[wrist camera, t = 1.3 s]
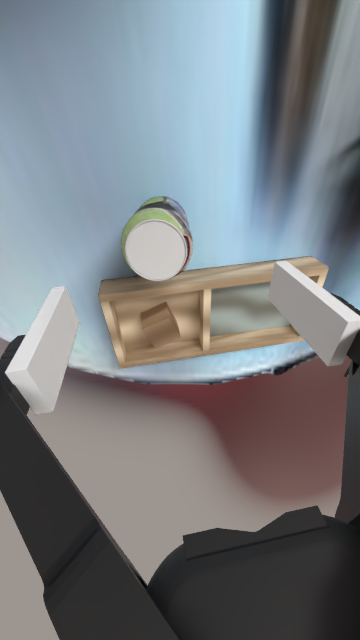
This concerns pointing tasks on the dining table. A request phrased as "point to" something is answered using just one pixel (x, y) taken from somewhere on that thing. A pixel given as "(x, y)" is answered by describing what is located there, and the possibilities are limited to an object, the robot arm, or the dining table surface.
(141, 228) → the beverage can
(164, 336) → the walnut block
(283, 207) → the dining table surface
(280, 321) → the walled box
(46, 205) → the dining table surface
